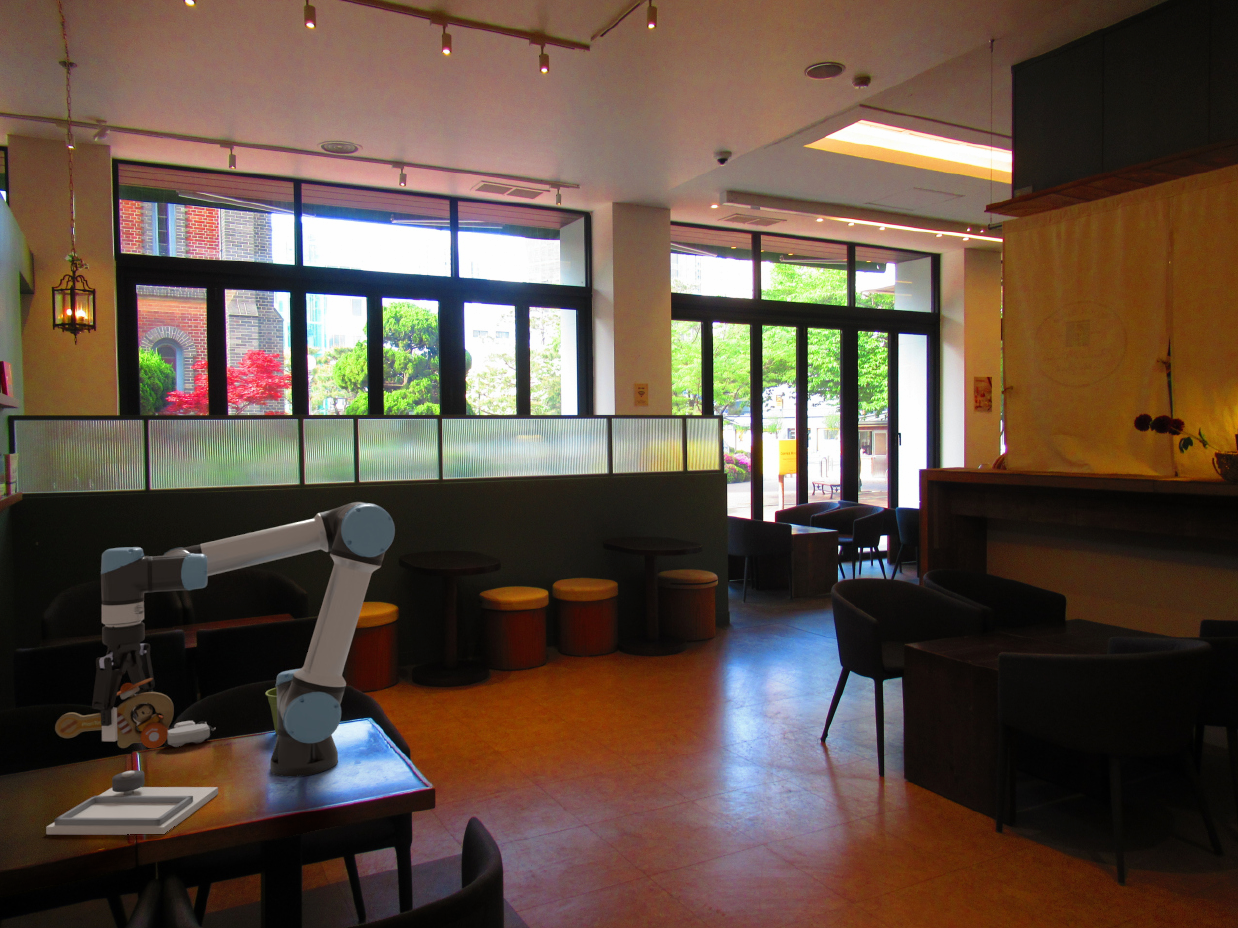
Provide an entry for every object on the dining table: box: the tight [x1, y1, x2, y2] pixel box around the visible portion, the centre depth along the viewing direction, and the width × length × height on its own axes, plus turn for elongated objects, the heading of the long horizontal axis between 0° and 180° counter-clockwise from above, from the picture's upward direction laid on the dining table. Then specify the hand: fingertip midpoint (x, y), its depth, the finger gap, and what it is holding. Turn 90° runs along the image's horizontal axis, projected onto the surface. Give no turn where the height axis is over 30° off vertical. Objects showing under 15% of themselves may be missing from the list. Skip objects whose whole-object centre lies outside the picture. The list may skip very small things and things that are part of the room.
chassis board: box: [45, 786, 219, 836], centre depth 175 cm, size 24×20×3 cm
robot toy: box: [164, 720, 216, 748], centre depth 221 cm, size 12×4×15 cm
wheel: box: [111, 769, 145, 792], centre depth 182 cm, size 6×6×3 cm
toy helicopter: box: [54, 678, 175, 749], centre depth 171 cm, size 8×21×14 cm, turn 116°
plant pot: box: [265, 687, 278, 735], centre depth 227 cm, size 12×12×11 cm
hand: (125, 732), depth 173 cm, fingers closed on toy helicopter, 9 cm apart
